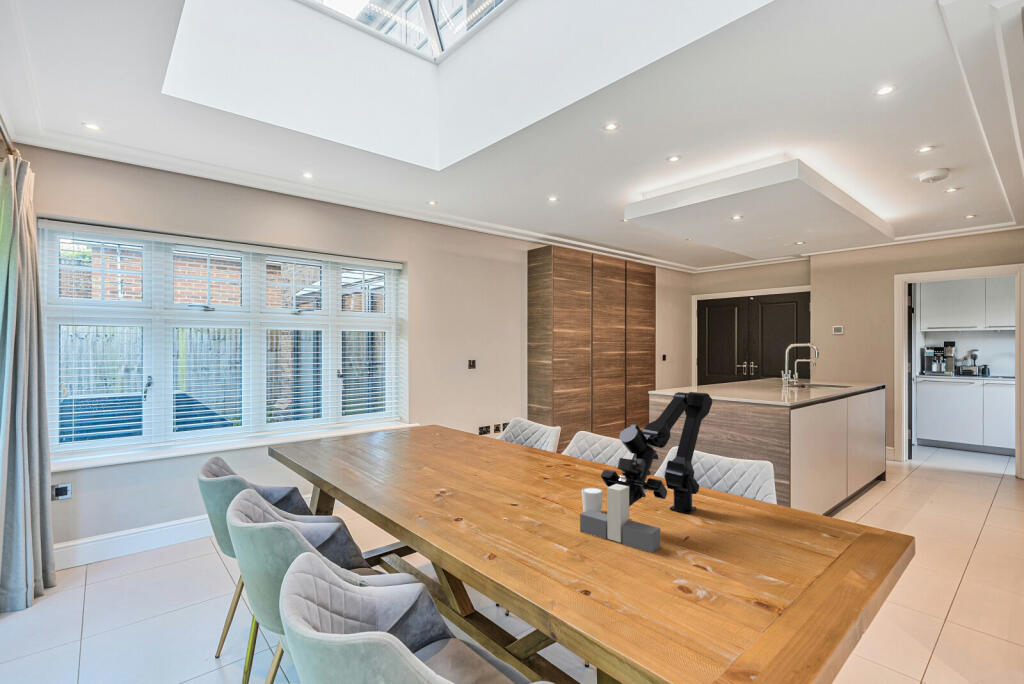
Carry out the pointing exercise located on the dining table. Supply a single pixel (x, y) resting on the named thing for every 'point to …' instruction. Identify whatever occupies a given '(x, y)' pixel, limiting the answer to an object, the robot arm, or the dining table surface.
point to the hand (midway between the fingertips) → (622, 509)
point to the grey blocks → (632, 531)
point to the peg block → (617, 511)
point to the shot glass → (592, 499)
